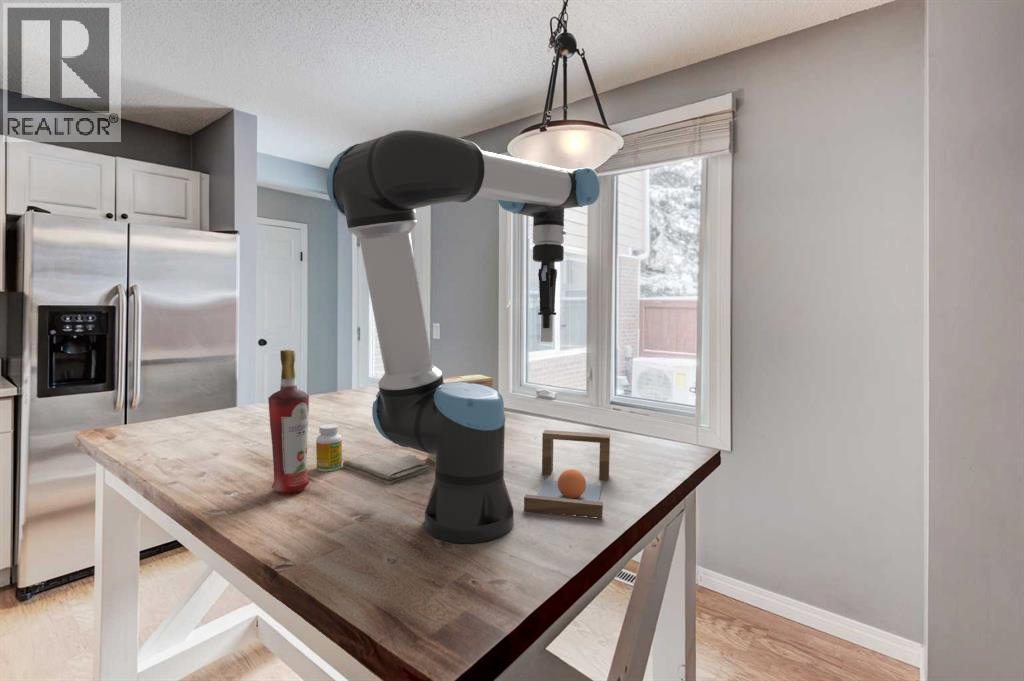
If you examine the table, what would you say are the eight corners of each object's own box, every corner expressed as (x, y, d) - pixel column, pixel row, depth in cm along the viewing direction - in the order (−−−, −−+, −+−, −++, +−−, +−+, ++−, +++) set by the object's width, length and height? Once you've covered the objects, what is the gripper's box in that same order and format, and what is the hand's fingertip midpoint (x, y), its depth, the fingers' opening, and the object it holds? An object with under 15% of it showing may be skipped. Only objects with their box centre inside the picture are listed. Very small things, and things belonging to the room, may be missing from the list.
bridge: (608, 479, 106) (609, 437, 105) (541, 473, 109) (542, 433, 109) (609, 475, 109) (610, 434, 108) (544, 469, 112) (544, 429, 112)
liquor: (294, 481, 103) (291, 348, 101) (318, 487, 100) (316, 350, 98) (262, 493, 97) (258, 351, 95) (287, 500, 94) (284, 353, 91)
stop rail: (602, 519, 86) (602, 505, 86) (523, 510, 90) (524, 497, 90) (602, 515, 88) (602, 502, 88) (525, 507, 91) (525, 494, 91)
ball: (586, 476, 99) (585, 503, 96) (559, 474, 100) (557, 500, 97) (586, 466, 95) (585, 494, 92) (558, 463, 96) (555, 491, 93)
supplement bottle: (332, 473, 109) (332, 429, 108) (311, 470, 110) (310, 427, 109) (346, 465, 114) (346, 424, 113) (326, 463, 115) (325, 422, 114)
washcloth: (391, 488, 102) (390, 473, 101) (340, 470, 112) (339, 456, 112) (433, 473, 111) (433, 459, 111) (382, 457, 122) (382, 445, 122)
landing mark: (597, 509, 91) (597, 508, 91) (533, 502, 94) (533, 501, 94) (601, 486, 102) (601, 485, 102) (544, 480, 105) (544, 479, 105)
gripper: (559, 241, 113) (558, 343, 115) (567, 247, 126) (565, 340, 127) (527, 241, 115) (526, 343, 116) (537, 248, 127) (536, 339, 129)
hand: (546, 341), depth 122 cm, fingers closed
